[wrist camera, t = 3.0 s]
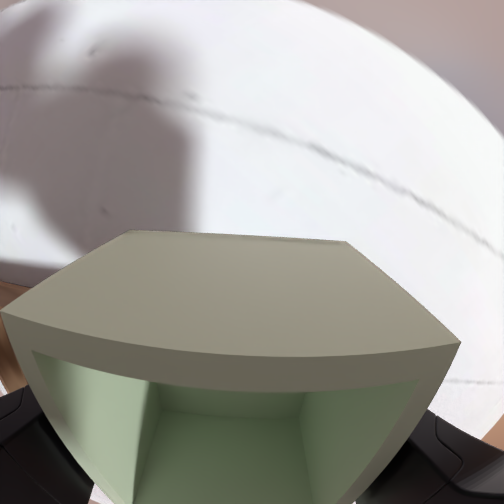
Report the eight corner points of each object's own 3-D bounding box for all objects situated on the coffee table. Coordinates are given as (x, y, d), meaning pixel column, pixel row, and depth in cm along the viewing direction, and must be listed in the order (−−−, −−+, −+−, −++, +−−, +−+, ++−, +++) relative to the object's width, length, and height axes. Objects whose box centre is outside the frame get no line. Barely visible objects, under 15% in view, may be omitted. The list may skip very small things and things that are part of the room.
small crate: (307, 415, 9) (328, 524, 4) (155, 406, 9) (121, 510, 4) (346, 241, 7) (461, 341, 3) (129, 229, 7) (0, 310, 2)
